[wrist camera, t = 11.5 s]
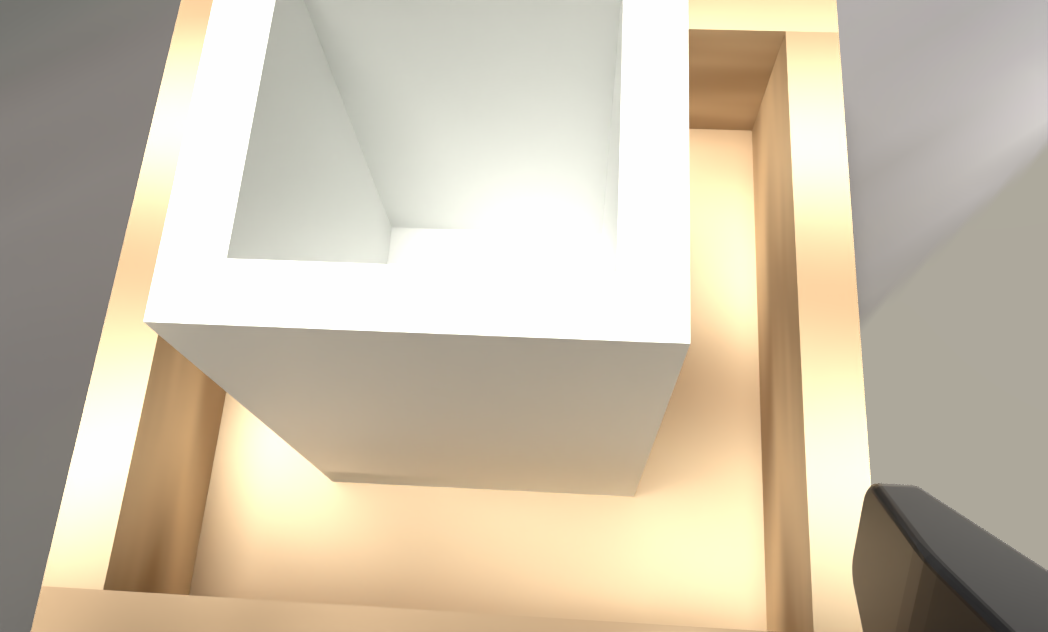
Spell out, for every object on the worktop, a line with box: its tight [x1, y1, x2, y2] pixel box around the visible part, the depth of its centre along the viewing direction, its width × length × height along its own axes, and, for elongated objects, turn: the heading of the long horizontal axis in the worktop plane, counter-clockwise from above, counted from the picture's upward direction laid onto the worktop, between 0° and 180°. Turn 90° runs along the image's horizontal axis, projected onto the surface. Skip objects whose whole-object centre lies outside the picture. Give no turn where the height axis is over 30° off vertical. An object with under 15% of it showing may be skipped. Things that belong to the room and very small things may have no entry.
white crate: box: [143, 0, 690, 497], centre depth 15 cm, size 6×6×9 cm
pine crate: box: [31, 0, 871, 632], centre depth 18 cm, size 13×13×4 cm
